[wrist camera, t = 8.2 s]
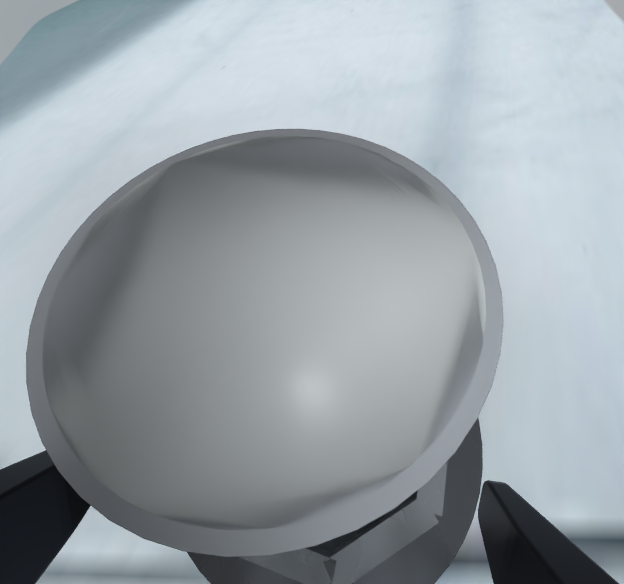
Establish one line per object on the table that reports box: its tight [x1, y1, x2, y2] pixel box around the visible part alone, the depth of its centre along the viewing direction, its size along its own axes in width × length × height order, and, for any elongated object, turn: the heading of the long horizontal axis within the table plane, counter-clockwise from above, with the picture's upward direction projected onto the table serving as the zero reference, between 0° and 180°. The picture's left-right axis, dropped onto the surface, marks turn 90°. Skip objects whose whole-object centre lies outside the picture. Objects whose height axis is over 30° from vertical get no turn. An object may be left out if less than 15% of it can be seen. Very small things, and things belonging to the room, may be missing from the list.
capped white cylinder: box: [26, 129, 503, 557], centre depth 10 cm, size 6×6×13 cm
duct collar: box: [187, 418, 482, 584], centre depth 16 cm, size 15×15×2 cm
